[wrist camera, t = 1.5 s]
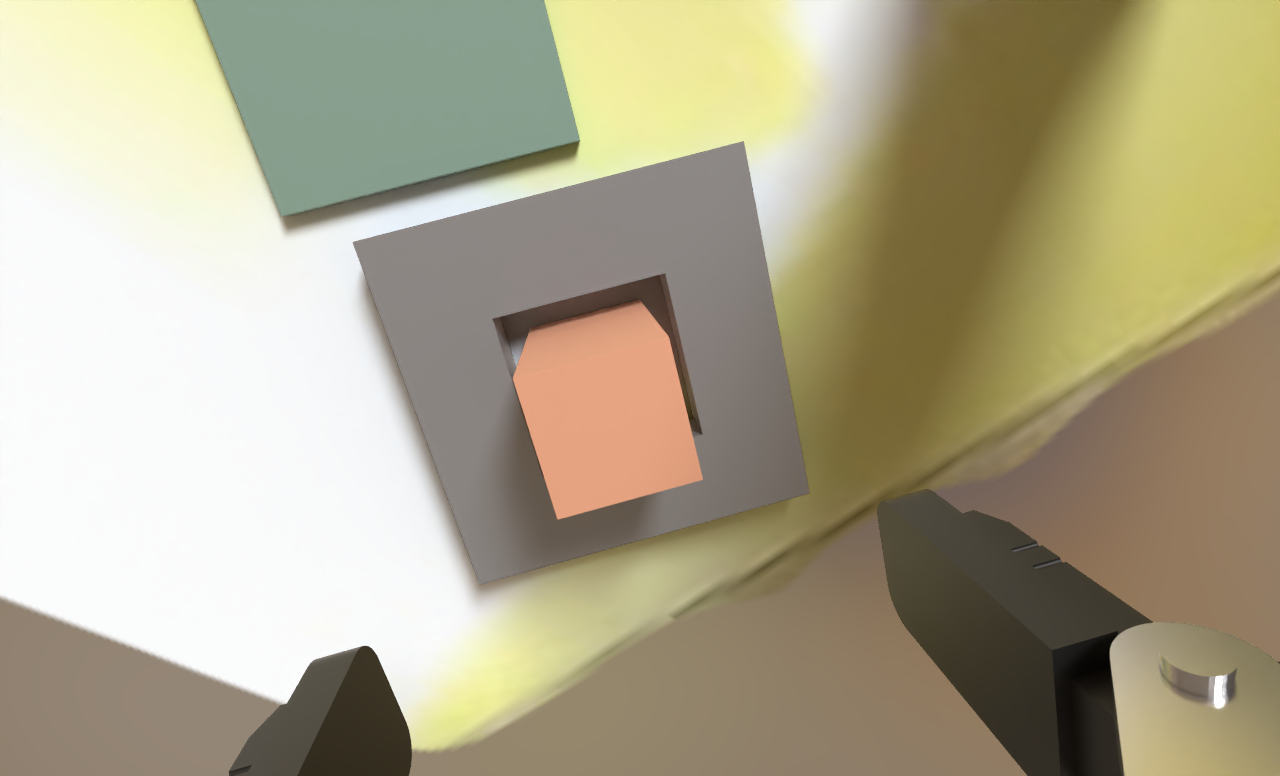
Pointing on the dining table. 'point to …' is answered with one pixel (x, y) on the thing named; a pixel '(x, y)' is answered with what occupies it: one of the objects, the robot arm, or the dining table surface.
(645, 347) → the terracotta block
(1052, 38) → the dining table surface
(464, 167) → the rubber pad
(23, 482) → the dining table surface
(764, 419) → the pocket plate
